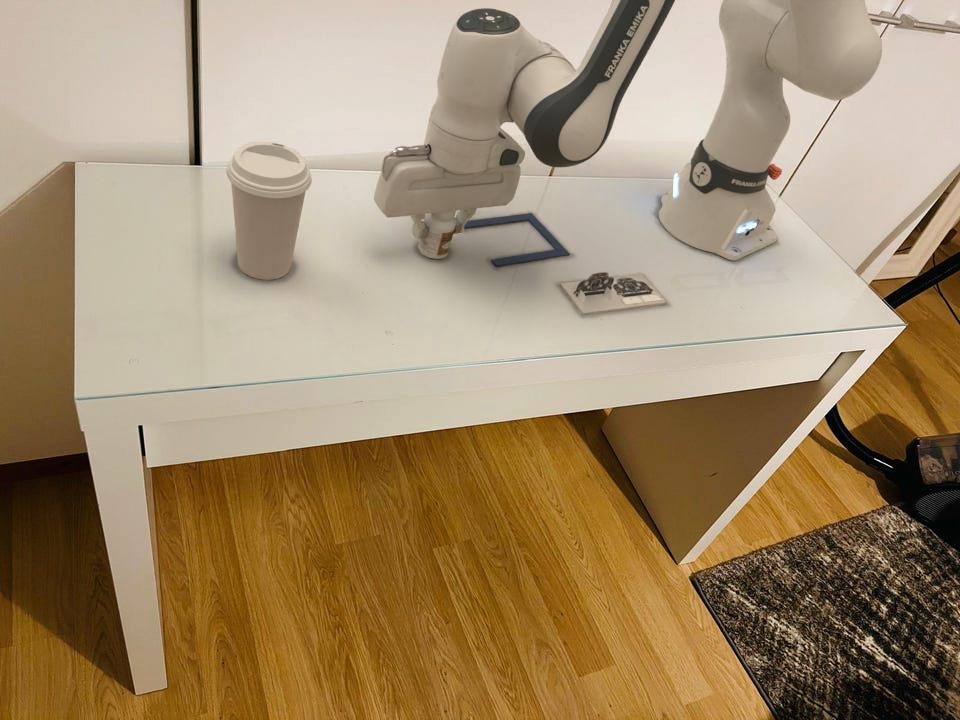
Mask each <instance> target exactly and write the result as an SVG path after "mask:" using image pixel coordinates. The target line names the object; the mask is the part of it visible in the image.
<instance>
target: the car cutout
mask: <svg viewBox="0 0 960 720" xmlns="http://www.w3.org/2000/svg"><path fill="white" fill-rule="evenodd" d="M559 287H560V289H561V290H562V292H564V293H565V295H566V296H567V298H568V299H569V300H570V302H571V303H572V305H573V306H574V307H575V308H576V309H577V311H578V313H579V314H580V315H581V316H590V315H598V314H605V313H606V314H607V313H613V312H622V311H628V310H629V311H630V310H636V309H644V308H653V307H660V306H666V305H667V304H668V301H666V300H665V299H664V297H663V296H662V295H661V294H660V293H659V292H658V290H657V289H656V288H655V287H654V286H653V285H652V283H651V282H650V281H649V280H648V279H647V278H646V277H645V276H644V274H635V275H625V276H615V277H613V276H610V275H609V272H608V271H603V272H602V271H600V272H594V273H592V274H590V276H589V277H588V278H587V279H583V280H577V281H567V282H560V283H559Z"/></svg>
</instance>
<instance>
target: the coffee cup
mask: <svg viewBox="0 0 960 720" xmlns="http://www.w3.org/2000/svg"><path fill="white" fill-rule="evenodd" d="M225 173H226V177H227V179H228V180H229V182H230V184H231V194H232V195H231V196H232V204H233V205H232V206H233V207H232V208H233V217H234V231H235V245H236V255H237V265H238V268H239V270H241V272H242V273H244V274H245V275H246V276H248V277H250V278H253V279H256V280H262V281H272V280H278V279H280V278H283V277H285V276H286V275H288V274H289V272H290V271H291V268H292V263H293V258H294V253H295V248H296V244H297V243H296V242H297V237H298V232H299V228H300V221H301V216H302V211H303V207H304V202H305V197H306V192H307V190H309V188H310V187H311V186H312V181H313V180H312V174H311V171H310V168H309V166H308V164H307V162H306V159H305V157H304V156H303V155H302V154H301V153H300V152H299V151H297V150H296V149H294V148H292V147H290V146H288V145H285V144H283V143H278V142H273V141H272V142H271V141H254V142H249V143H246V144H245V143H244V144H243V145H241V146H239V147H238V148H237V149H236V150H235V152H234V155H233V156H232V157H231V158H230V159H229V161H228V163H227V166H226V169H225Z"/></svg>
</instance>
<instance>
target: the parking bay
mask: <svg viewBox="0 0 960 720" xmlns="http://www.w3.org/2000/svg"><path fill="white" fill-rule="evenodd" d="M520 222H521V223H522V222H529V223H530V224H531V225H532V226H533V227H534V229H536V231H537V232H538V233H539V234H540V235H541V236H542V237H543V239H545V240H546V241H547V243H548V244H550V246H551V247H552V248H553V249H549V250H543V251H542V250H541V251H536V252H529V253H523V254H517V255H509V256H503V257H497V258H491V259H490V262H491V263H492V265H493V266H494V267H495V268H499V267H504V266H511V265H512V266H513V265H518V264H523V263H531V262H536V261H542V260H549V259H555V258H561V257H567V256H570V252H569V251H568V249H566V248H565V247H564V246H563V245H562V244H561V242H560V241H558V239H557V238H556V237H555V236H554V235H553V234H552V233H551V232H550V231H549V230H548V229H547V228H546V227H545V225H544V224H542V223H541V221H540V220H538V219H537V217H536V216H535V214H533V213H532V212H526V213H520V214H519V213H518V214H512V215H504V216H495V217H487V218H486V217H485V218H477V219H470V220H469V221H468V222H467V223H466V224H465V227H464V230H467V229H474V228H482V227H489V226H496V225H497V226H498V225H506V224H513V223H520Z"/></svg>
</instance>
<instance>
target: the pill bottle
mask: <svg viewBox="0 0 960 720" xmlns="http://www.w3.org/2000/svg"><path fill="white" fill-rule="evenodd" d="M456 212H457V211H448V212H439V213H429V214H426V215H425V219H423V221H424V223H425V225H427V226H428V228H429V231H428V233H427V237H426V238H419V239H418V240H419V241H418V245H417V249H418V251H419V253H421V254H422V255H423V256H425V257H426V258H429V259H434V260H439V259H440V260H441V259H444V258H446V257H448V255H449V253H450V248H451V244H452V241H453V237H454V234H453V233H454V230H455V226H456V221H455V219H454V217H456Z"/></svg>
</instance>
